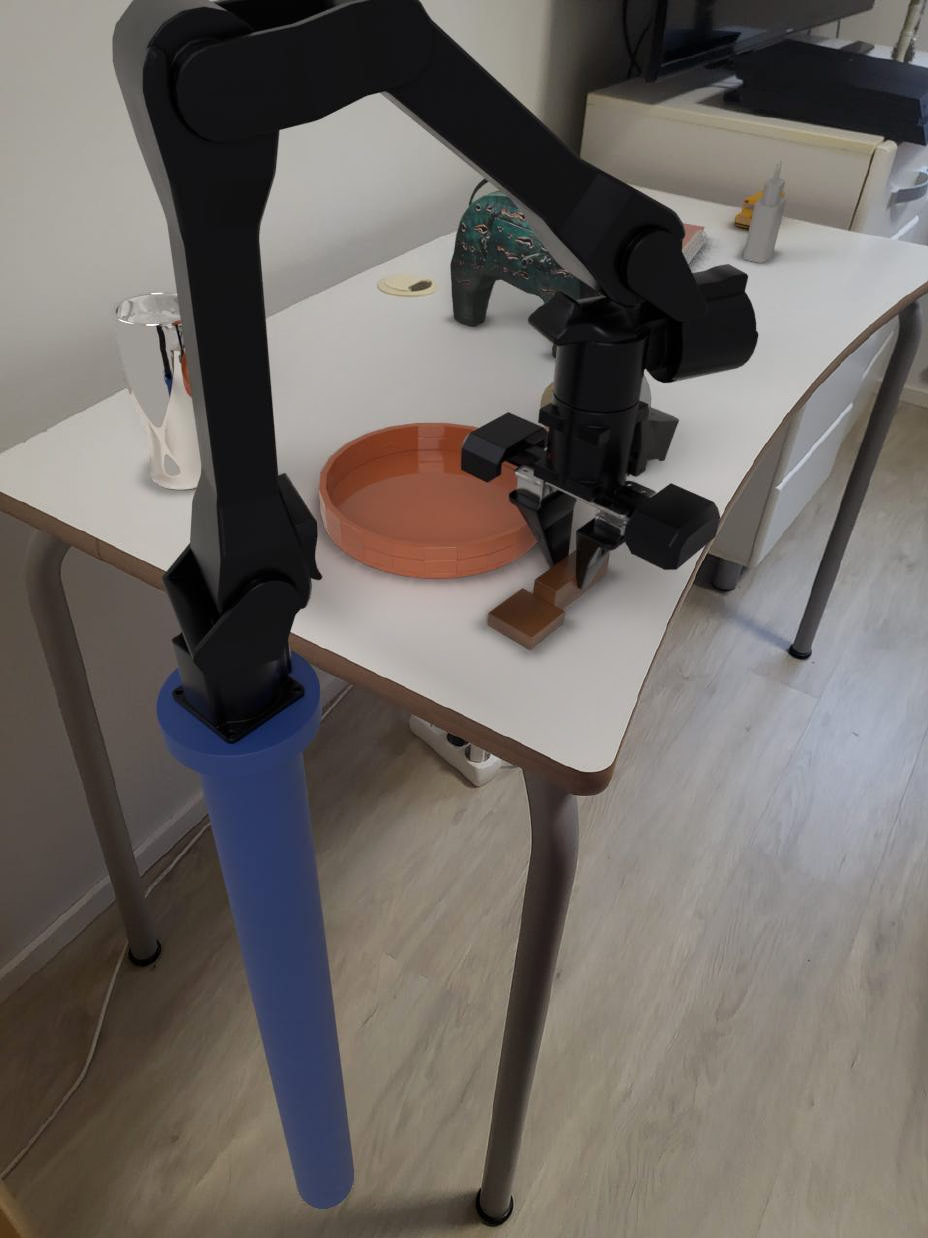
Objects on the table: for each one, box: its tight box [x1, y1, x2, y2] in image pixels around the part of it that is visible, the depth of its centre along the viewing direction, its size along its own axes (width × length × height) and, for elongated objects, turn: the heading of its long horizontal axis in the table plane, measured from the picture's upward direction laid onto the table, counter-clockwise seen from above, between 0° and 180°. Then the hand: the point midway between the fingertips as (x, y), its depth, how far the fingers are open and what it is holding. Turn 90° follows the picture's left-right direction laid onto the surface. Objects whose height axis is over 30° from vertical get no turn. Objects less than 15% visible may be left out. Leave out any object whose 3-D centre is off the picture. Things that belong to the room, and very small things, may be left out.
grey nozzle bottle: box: [742, 160, 787, 264], centre depth 126 cm, size 3×5×12 cm, turn 150°
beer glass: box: [110, 291, 201, 491], centre depth 78 cm, size 7×7×15 cm
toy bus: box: [733, 190, 786, 229], centre depth 139 cm, size 3×10×4 cm, turn 140°
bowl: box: [318, 422, 538, 579], centre depth 79 cm, size 19×19×3 cm
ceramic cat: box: [449, 177, 601, 359], centre depth 100 cm, size 20×6×20 cm, turn 51°
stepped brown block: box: [487, 549, 611, 651], centre depth 70 cm, size 4×11×2 cm, turn 139°
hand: (571, 580), depth 71 cm, fingers closed on stepped brown block, 2 cm apart
